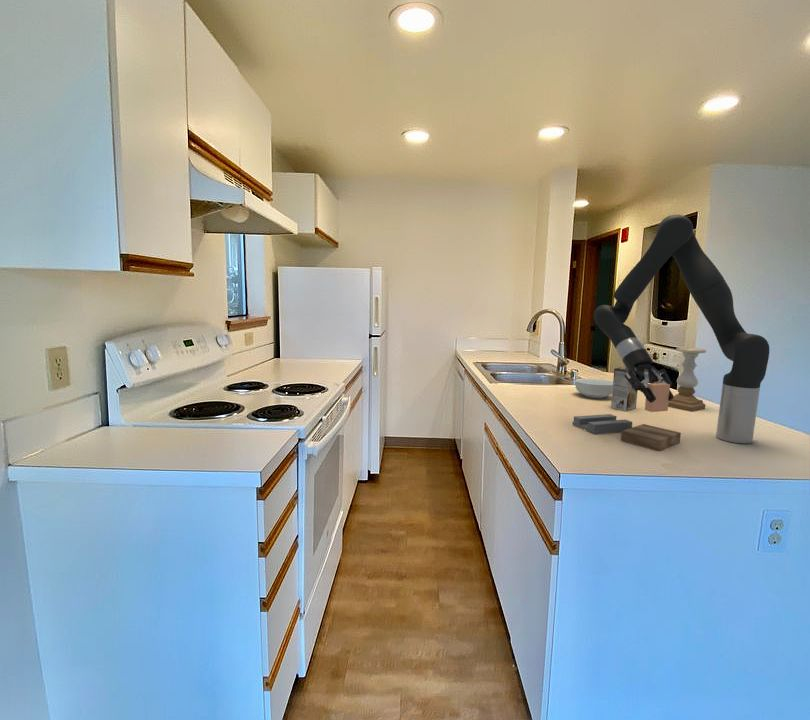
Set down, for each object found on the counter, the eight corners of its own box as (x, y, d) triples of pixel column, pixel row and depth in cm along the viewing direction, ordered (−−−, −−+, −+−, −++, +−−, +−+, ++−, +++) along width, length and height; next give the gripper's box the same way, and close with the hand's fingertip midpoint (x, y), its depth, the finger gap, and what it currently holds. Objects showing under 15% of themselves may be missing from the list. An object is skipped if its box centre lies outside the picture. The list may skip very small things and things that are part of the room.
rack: (608, 421, 155) (609, 413, 154) (632, 431, 144) (633, 422, 144) (572, 424, 150) (573, 416, 150) (594, 434, 140) (595, 425, 140)
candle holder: (677, 402, 187) (683, 347, 184) (705, 408, 178) (712, 350, 175) (663, 405, 181) (669, 348, 178) (691, 411, 172) (699, 351, 169)
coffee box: (620, 404, 181) (623, 366, 179) (636, 408, 176) (640, 368, 174) (609, 408, 175) (613, 368, 173) (626, 411, 170) (630, 370, 168)
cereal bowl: (607, 393, 203) (608, 378, 202) (621, 401, 187) (623, 385, 186) (569, 391, 205) (570, 377, 204) (580, 400, 188) (581, 383, 187)
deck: (642, 432, 143) (643, 423, 142) (679, 442, 134) (680, 432, 134) (620, 440, 134) (621, 431, 134) (658, 450, 126) (659, 440, 125)
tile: (660, 408, 134) (662, 382, 132) (667, 410, 131) (670, 384, 130) (644, 410, 132) (646, 383, 131) (651, 412, 129) (653, 385, 128)
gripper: (622, 348, 134) (650, 394, 124) (659, 347, 138) (690, 392, 128) (608, 363, 140) (634, 408, 130) (644, 361, 144) (672, 405, 134)
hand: (662, 400), depth 129 cm, fingers closed on tile, 6 cm apart
